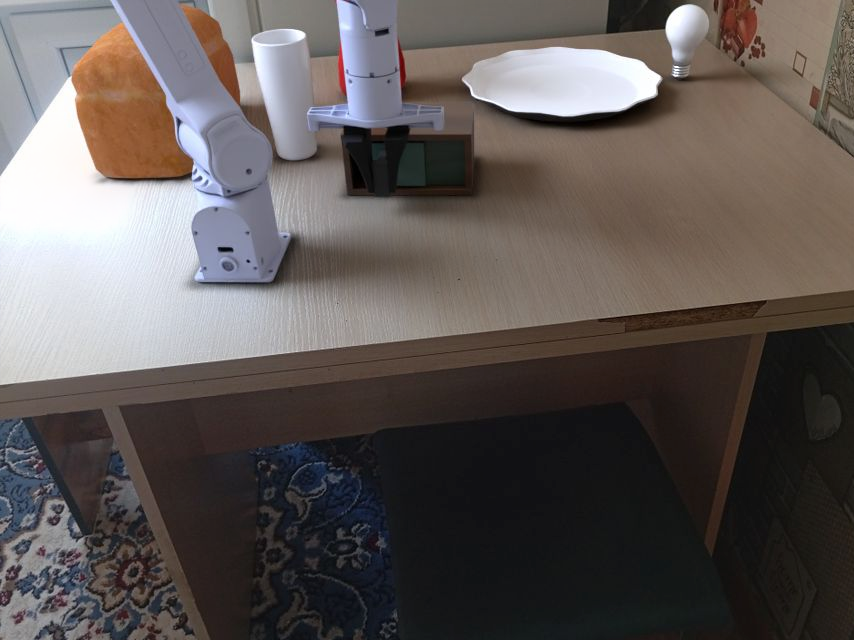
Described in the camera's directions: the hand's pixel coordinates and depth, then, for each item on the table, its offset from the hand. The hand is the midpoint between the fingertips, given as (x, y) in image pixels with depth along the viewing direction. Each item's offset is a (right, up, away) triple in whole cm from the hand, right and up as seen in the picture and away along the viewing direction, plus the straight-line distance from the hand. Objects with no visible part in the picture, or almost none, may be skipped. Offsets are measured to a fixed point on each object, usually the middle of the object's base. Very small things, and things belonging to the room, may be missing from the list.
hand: (382, 189), depth 90 cm
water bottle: (-5, +21, +32) cm, 38 cm away
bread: (-31, +11, +19) cm, 38 cm away
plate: (+24, +21, +30) cm, 44 cm away
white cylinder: (-13, +7, +15) cm, 21 cm away
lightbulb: (+43, +24, +34) cm, 60 cm away
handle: (+1, 0, +2) cm, 3 cm away
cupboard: (+3, +3, +8) cm, 9 cm away
